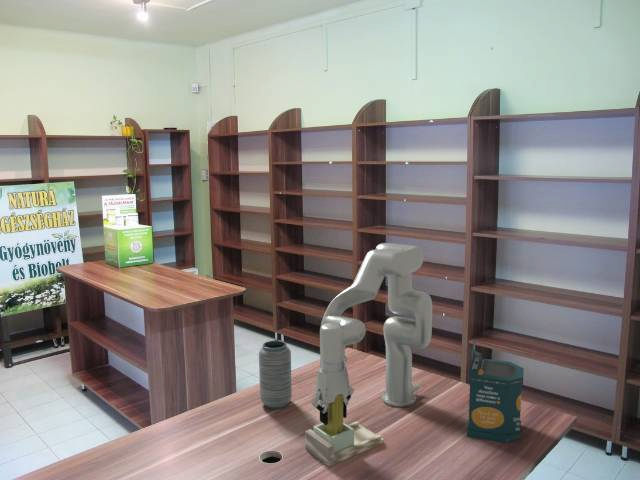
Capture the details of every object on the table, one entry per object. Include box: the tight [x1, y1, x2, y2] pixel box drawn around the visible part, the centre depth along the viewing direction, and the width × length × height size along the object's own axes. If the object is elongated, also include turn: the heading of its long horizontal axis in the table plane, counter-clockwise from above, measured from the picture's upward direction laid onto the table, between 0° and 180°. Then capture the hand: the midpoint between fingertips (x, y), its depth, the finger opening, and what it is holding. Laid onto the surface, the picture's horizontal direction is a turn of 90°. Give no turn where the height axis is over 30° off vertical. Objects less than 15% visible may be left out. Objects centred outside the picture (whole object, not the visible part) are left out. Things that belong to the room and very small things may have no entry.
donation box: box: [466, 338, 525, 444], centre depth 177 cm, size 16×16×28 cm
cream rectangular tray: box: [304, 420, 385, 467], centre depth 170 cm, size 22×12×6 cm, turn 126°
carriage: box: [312, 422, 354, 454], centre depth 167 cm, size 9×9×6 cm
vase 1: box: [258, 340, 293, 410], centre depth 197 cm, size 12×12×23 cm
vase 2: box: [325, 394, 344, 437], centre depth 166 cm, size 6×6×14 cm
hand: (333, 419), depth 166 cm, fingers open, 6 cm apart
